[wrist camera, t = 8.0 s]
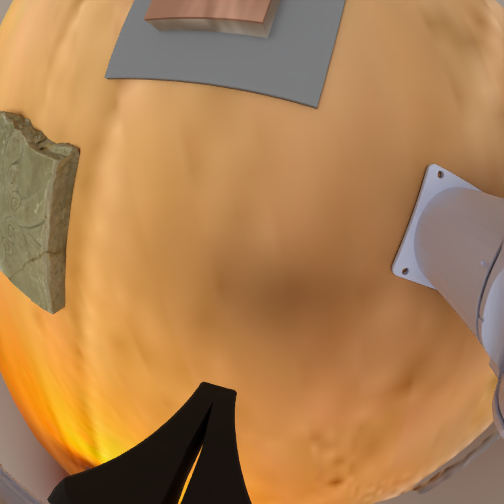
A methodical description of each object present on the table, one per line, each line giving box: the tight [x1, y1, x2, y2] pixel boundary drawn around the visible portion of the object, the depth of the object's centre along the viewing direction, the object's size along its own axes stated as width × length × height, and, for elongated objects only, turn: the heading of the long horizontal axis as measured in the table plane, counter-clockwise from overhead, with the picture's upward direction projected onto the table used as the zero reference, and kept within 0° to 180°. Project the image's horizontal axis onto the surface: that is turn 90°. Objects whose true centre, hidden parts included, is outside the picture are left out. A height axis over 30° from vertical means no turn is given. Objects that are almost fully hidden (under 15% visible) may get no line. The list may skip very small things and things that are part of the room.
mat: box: [105, 0, 345, 109], centre depth 13 cm, size 16×13×1 cm
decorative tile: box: [0, 111, 80, 314], centre depth 20 cm, size 19×20×4 cm
